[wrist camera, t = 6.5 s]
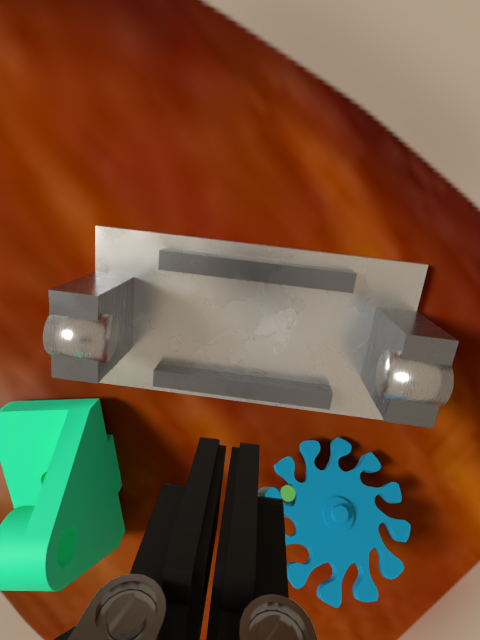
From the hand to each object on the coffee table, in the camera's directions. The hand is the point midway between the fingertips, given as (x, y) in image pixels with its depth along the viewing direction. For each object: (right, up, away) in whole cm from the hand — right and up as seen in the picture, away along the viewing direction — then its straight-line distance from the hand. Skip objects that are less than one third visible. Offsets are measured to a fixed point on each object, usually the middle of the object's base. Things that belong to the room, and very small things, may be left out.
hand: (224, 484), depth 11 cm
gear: (+7, -5, +19) cm, 21 cm away
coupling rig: (+1, +4, +15) cm, 16 cm away
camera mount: (-13, -7, +20) cm, 25 cm away
